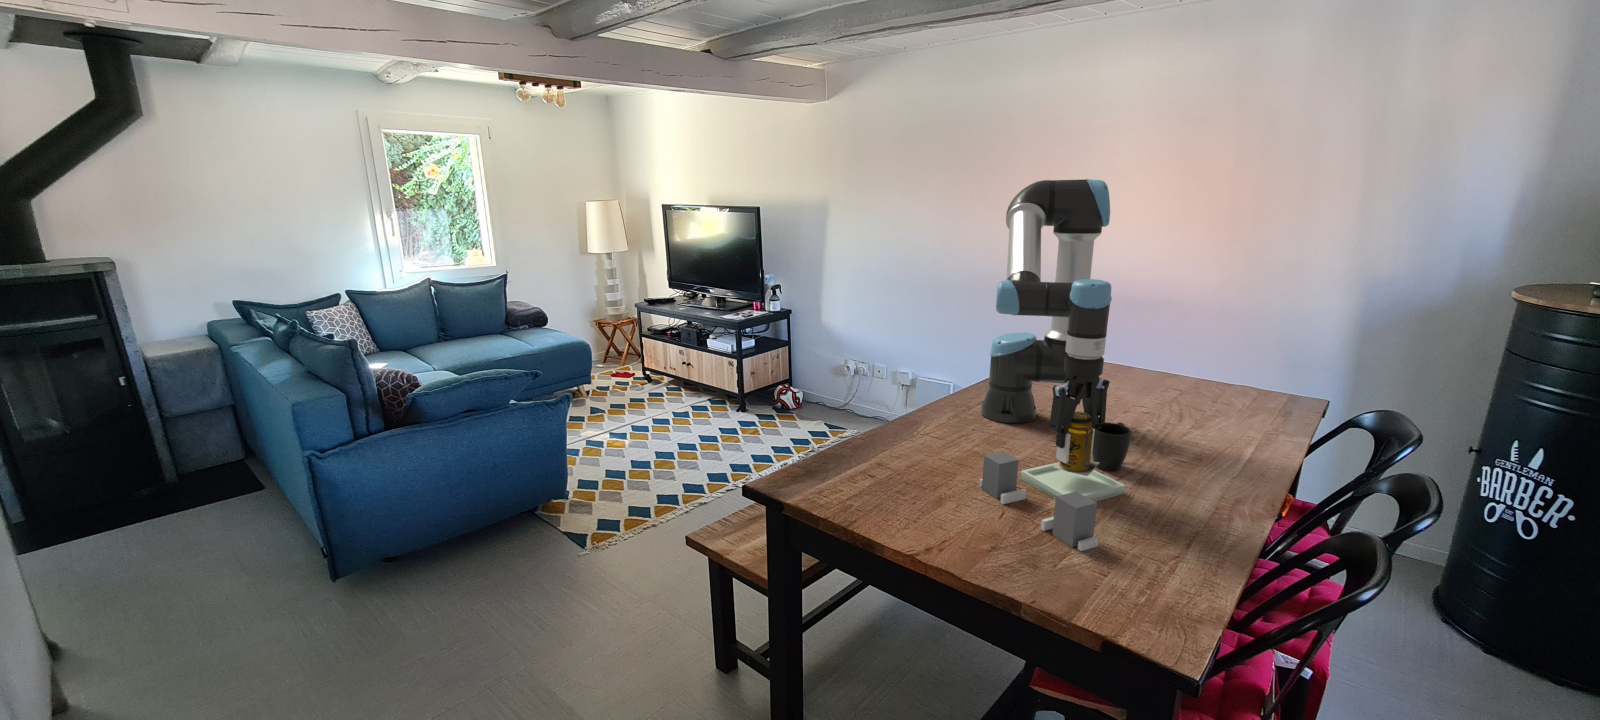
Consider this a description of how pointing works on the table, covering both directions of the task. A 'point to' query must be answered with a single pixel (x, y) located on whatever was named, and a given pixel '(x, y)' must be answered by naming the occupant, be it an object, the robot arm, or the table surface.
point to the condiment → (1079, 446)
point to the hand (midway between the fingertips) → (1073, 457)
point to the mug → (1111, 446)
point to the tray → (1072, 483)
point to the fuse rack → (1070, 509)
